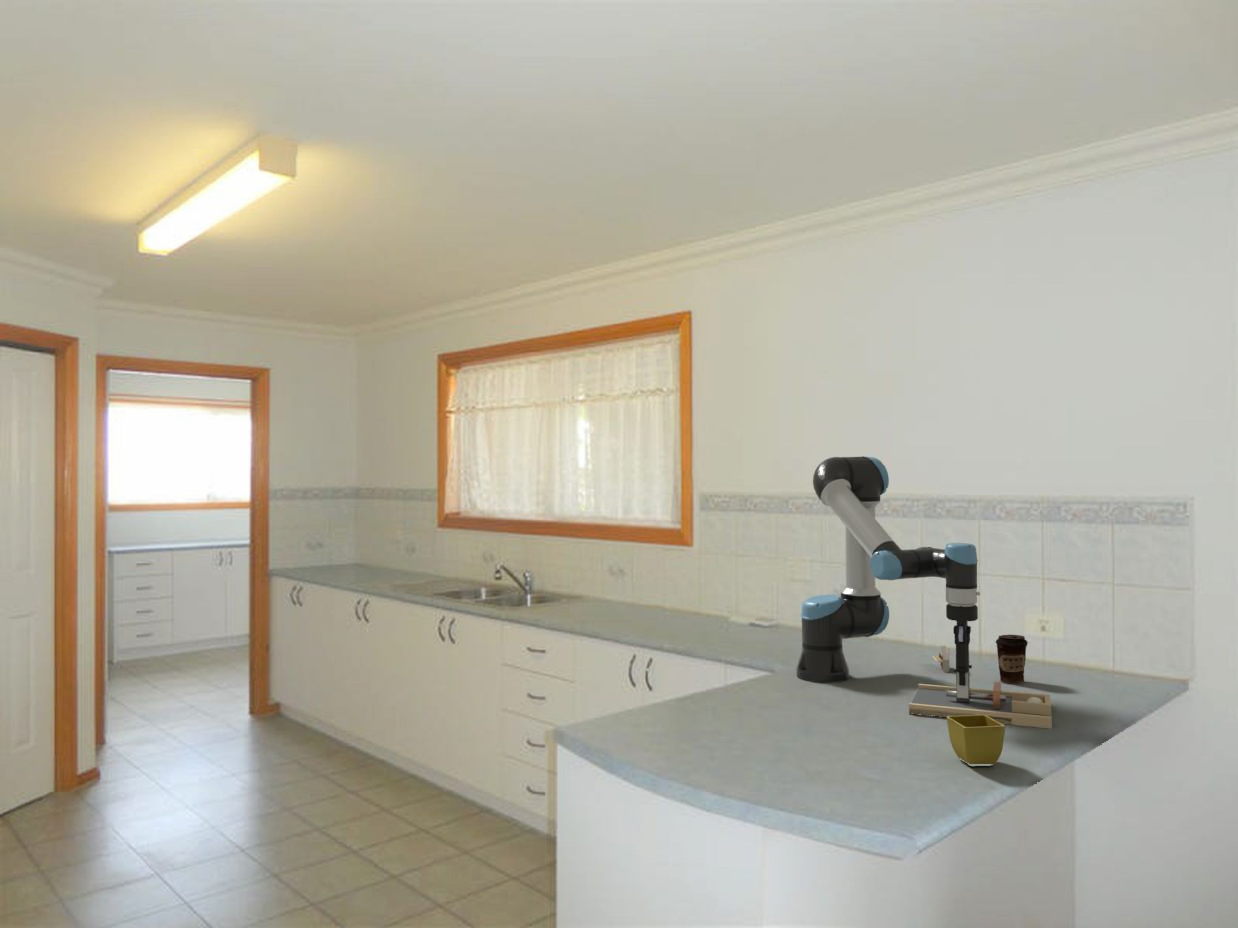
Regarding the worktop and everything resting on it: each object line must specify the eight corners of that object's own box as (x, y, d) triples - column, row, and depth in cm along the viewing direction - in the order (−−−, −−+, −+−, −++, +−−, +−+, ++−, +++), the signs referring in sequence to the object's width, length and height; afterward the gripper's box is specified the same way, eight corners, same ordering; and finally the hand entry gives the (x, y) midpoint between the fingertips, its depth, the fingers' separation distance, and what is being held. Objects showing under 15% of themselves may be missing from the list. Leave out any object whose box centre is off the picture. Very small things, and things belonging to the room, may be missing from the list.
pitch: (909, 714, 219) (908, 698, 219) (918, 692, 239) (918, 678, 239) (1051, 728, 206) (1051, 711, 206) (1049, 704, 226) (1049, 689, 226)
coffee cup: (1032, 686, 244) (1031, 639, 244) (1000, 685, 246) (999, 638, 246) (1024, 678, 253) (1023, 633, 253) (993, 677, 255) (992, 632, 255)
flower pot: (946, 757, 187) (945, 715, 187) (985, 755, 188) (984, 713, 188) (965, 771, 178) (965, 727, 178) (1006, 769, 179) (1006, 725, 179)
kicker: (945, 703, 222) (944, 656, 222) (947, 694, 230) (947, 649, 230) (1005, 709, 216) (1004, 660, 216) (1006, 700, 224) (1005, 653, 224)
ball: (1043, 716, 215) (1025, 714, 216) (1043, 712, 218) (1025, 709, 220) (1044, 700, 215) (1026, 697, 216) (1044, 696, 218) (1026, 693, 220)
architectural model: (937, 672, 263) (937, 648, 263) (932, 667, 270) (932, 643, 270) (949, 673, 262) (949, 648, 262) (944, 667, 269) (944, 643, 269)
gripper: (975, 609, 215) (977, 705, 215) (979, 600, 230) (980, 689, 230) (943, 607, 219) (944, 702, 219) (948, 598, 233) (950, 686, 233)
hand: (963, 695), depth 224 cm, fingers closed on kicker, 3 cm apart
